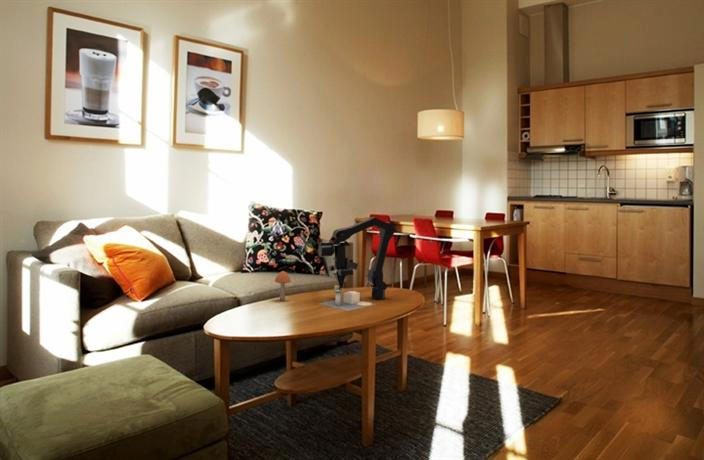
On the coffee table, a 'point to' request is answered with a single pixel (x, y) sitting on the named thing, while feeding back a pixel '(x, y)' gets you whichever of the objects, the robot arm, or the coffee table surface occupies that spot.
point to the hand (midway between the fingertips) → (341, 287)
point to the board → (342, 305)
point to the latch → (337, 289)
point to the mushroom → (282, 283)
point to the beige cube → (351, 297)
